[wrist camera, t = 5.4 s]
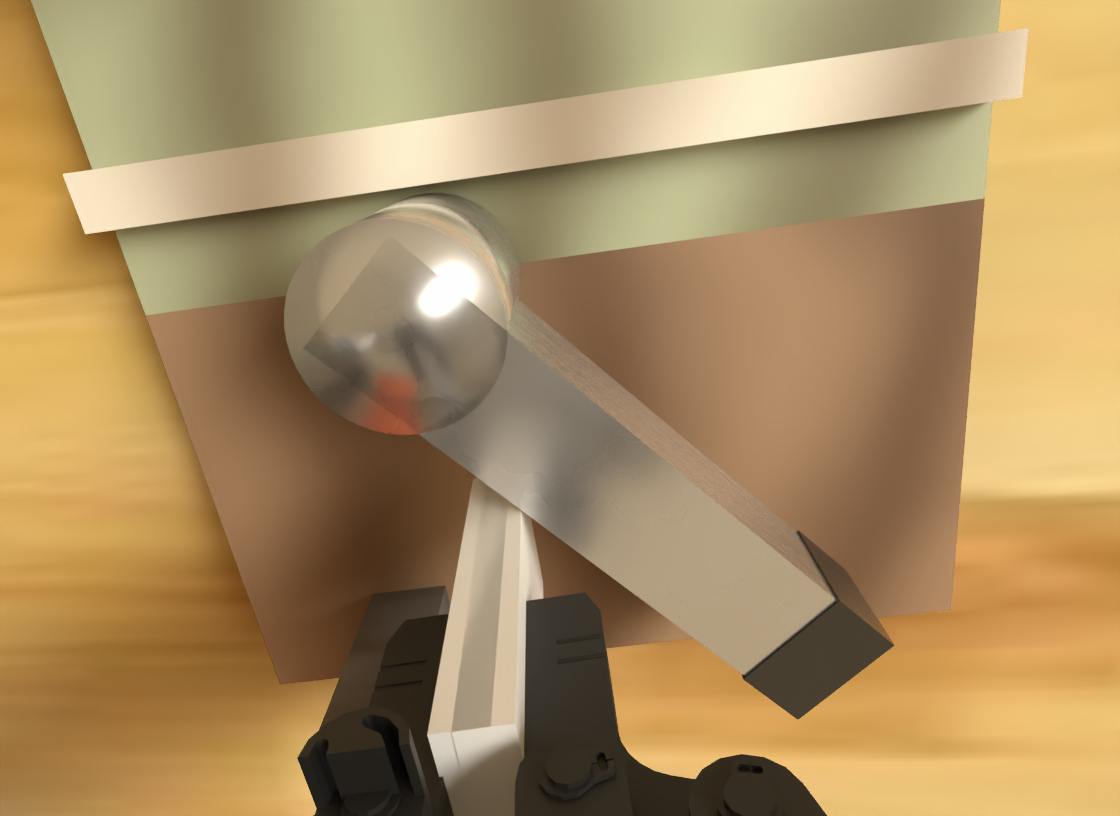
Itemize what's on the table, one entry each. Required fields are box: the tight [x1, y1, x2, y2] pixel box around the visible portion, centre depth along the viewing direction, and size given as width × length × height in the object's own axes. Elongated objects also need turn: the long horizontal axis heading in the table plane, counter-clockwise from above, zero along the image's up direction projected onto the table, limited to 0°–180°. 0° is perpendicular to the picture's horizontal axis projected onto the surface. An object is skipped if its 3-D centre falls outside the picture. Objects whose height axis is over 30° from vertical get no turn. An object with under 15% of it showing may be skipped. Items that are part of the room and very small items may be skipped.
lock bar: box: [284, 192, 894, 719], centre depth 15 cm, size 13×4×5 cm, turn 49°
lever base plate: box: [31, 0, 1029, 730], centre depth 14 cm, size 19×22×6 cm
